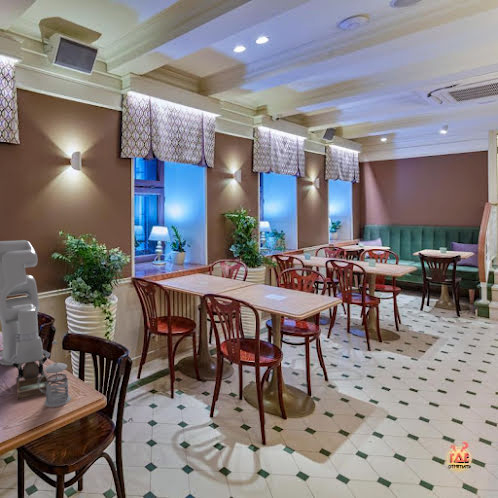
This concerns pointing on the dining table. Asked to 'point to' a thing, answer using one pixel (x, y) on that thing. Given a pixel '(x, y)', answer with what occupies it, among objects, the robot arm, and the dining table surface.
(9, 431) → the dining table surface
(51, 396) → the french press
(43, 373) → the trivet frame
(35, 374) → the vase
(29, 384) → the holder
